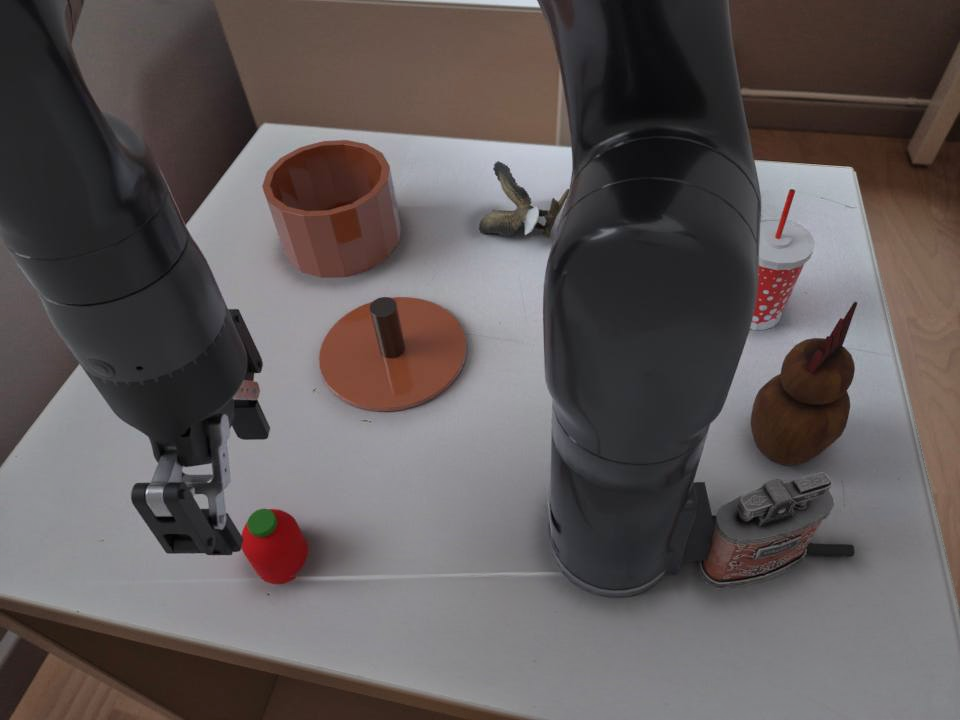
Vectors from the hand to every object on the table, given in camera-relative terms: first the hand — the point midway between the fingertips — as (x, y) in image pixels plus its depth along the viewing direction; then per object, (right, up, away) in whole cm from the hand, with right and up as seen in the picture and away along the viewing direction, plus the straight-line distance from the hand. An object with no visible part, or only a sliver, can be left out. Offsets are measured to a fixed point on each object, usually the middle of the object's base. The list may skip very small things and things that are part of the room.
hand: (242, 487), depth 50 cm
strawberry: (+1, -7, +7) cm, 10 cm away
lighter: (+36, -6, +5) cm, 37 cm away
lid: (+8, +9, +19) cm, 23 cm away
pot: (+1, +21, +31) cm, 38 cm away
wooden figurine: (+41, +2, +11) cm, 42 cm away
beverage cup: (+42, +13, +21) cm, 49 cm away
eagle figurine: (+20, +23, +31) cm, 44 cm away
